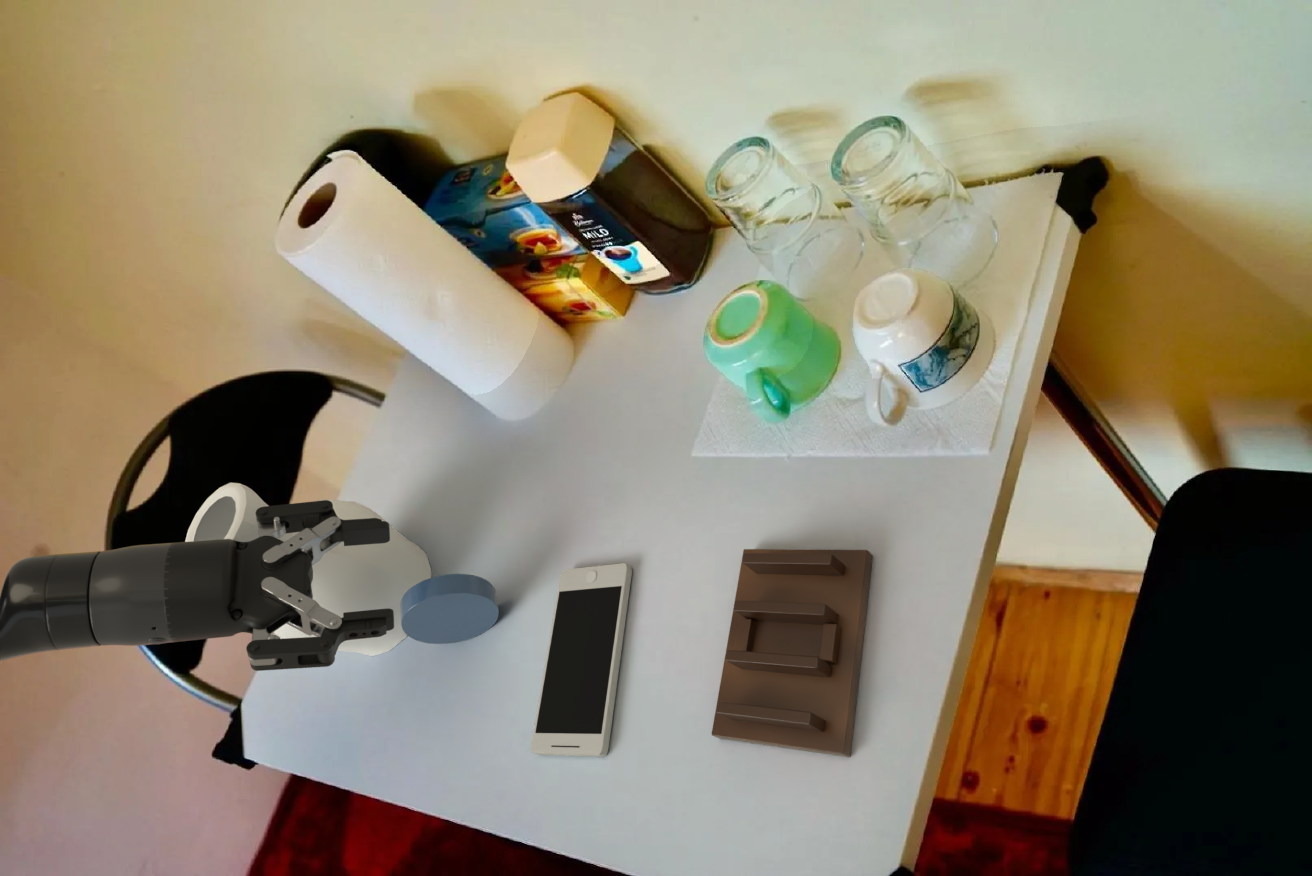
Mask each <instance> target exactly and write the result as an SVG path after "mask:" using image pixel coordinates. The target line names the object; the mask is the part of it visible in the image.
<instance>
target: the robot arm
mask: <svg viewBox="0 0 1312 876" xmlns="http://www.w3.org/2000/svg"><path fill="white" fill-rule="evenodd" d="M321 500H322V501H318V500H313V501H305V502H304V501H303V502H296V503H295V502H294V503H285V504H276V505H268V506H265V507H260V508H258V509H257V510H256V520H257V525H258V529H259V537H258V538H256V539H254V540H252V541H248V542H239V541H235V540H232V539H220V540H205V541H191V542H185V541H177V542H166V543H165V542H164V543H163V542H162V543H151V544H138V545H137V544H136V545H130V546H125V547H119V548H116V549H115V548H114V549H108V550H98V551H86V552H85V551H84V552H71V553H55V554H42V555H33V556H29V557H24V558H22V559H20V560H18V561H17V562H15V563H14V564H12V566H11V567H10V569H9V570H8V572H7V573H6V575H5V578H4V581H3V583H2V586H1V590H0V662H3V661H6V660H10V659H15V658H19V657H23V656H28V655H33V654H39V653H45V652H46V653H47V652H53V651H63V650H64V651H65V650H72V649H83V648H92V647H100V646H126V647H132V646H134V647H135V646H148V645H150V646H151V645H161V644H167V643H178V642H187V641H188V642H189V641H199V640H209V639H219V638H229V637H233V636H235V635H237V634H241V633H245V634H246V633H247V634H251V641H250V642H248V643H247V645H246V653H247V658H248V661H249V665H250V668H251V670H253V671H256V672H260V671H261V672H262V671H277V670H278V671H279V670H293V669H295V670H297V669H311V668H326V667H330V666H332V665H333V664H334V663H335V660H336V654H337V652H338V651H337V649H338V647H339V645H340V644H341V643H342V642H344V641H347V640H354V639H364V638H372V637H373V638H374V637H381V636H383V635H385V634H386V631H389V630H392V629H393V628H394V611H393V610H392V609H388V608H387V609H377V610H366V611H356V612H345V613H343V618H341V617H340V616H338V615H336V614H334V613H332V612H330V611H328V610H326V609H324V608H323V607H321V606H320V605H319V604H318V603H317V602H316V601H315V600H313V595H312V588H311V583H312V580H313V568H312V565H314V564H315V563H317V562H318V561H319V560H320V559H321V558H322V556H323V555H324V554H325V553H326V552H328V551H329V550H331V549H332V548H334V547H335V546H337V545H338V544H340V543H341V542H344V546H353V545H367V544H380V543H387V542H389V541H390V529H389V524H390V522H388V521H387V520H385V521H382V519H378V518H369V519H352V520H342V519H340V518H338V517H337V515H336V513H335V511H334V509H333V504H332V502H330V501H328V500H326V499H321ZM386 521H387V522H386ZM295 532H299V533H298V534H296V535H295V536H293V537H291V538H290V539H288V540H287V541H285V542H283V541H281V540H279V539H277V538H282V537H283V535H284V534H286V533H295ZM276 537H277V538H276ZM303 549H304V551H302V550H303ZM285 624H288V625H290V626H292V627H294V628H296V629H297V630H299V631H301V632H303V633H305V634H307V635H315V636H316V637H305V638H286V639H282V638H280V637H279V636H277V635H276V634H274V631H276V630H277V629H279V628H280V627H282V626H283V625H285Z"/></svg>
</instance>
